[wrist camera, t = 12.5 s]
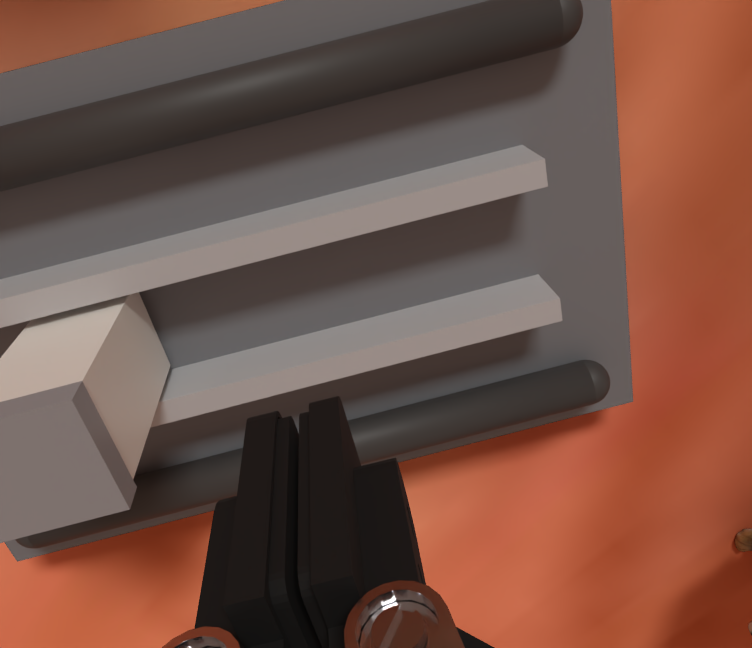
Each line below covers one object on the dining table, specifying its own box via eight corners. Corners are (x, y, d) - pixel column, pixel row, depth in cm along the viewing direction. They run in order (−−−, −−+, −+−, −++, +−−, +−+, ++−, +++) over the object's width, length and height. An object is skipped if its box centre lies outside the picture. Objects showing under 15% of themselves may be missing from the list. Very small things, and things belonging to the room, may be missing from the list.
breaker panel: (577, -75, 19) (641, -92, 16) (610, 374, 27) (659, 432, 23) (-214, 128, 19) (-327, 157, 16) (35, 523, 27) (-4, 605, 23)
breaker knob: (136, 280, 20) (71, 399, 14) (174, 366, 22) (130, 509, 16) (36, 306, 20) (-73, 437, 14) (80, 391, 22) (-1, 543, 16)
